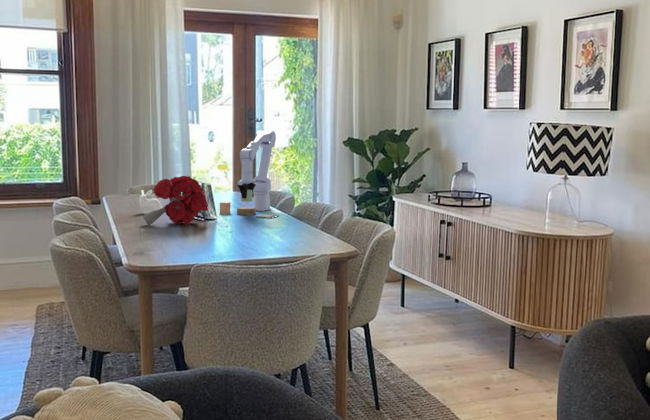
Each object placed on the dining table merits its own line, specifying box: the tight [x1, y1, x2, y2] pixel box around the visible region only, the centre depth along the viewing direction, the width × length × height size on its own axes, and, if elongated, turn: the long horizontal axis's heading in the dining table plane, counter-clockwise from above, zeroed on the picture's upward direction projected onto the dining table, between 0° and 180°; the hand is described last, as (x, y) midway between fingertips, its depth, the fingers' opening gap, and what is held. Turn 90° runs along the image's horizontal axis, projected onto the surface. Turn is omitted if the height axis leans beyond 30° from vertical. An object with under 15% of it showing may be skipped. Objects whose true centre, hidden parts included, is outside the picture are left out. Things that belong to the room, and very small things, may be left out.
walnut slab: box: [236, 206, 257, 216], centre depth 339 cm, size 7×7×4 cm
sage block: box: [240, 189, 253, 203], centre depth 338 cm, size 4×4×6 cm
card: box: [255, 213, 280, 219], centre depth 332 cm, size 10×8×1 cm
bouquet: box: [142, 175, 209, 226], centre depth 298 cm, size 22×24×30 cm
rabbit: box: [138, 189, 164, 215], centre depth 333 cm, size 12×9×12 cm
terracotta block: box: [219, 201, 231, 215], centre depth 339 cm, size 4×4×6 cm
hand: (246, 197), depth 338 cm, fingers closed on sage block, 4 cm apart
